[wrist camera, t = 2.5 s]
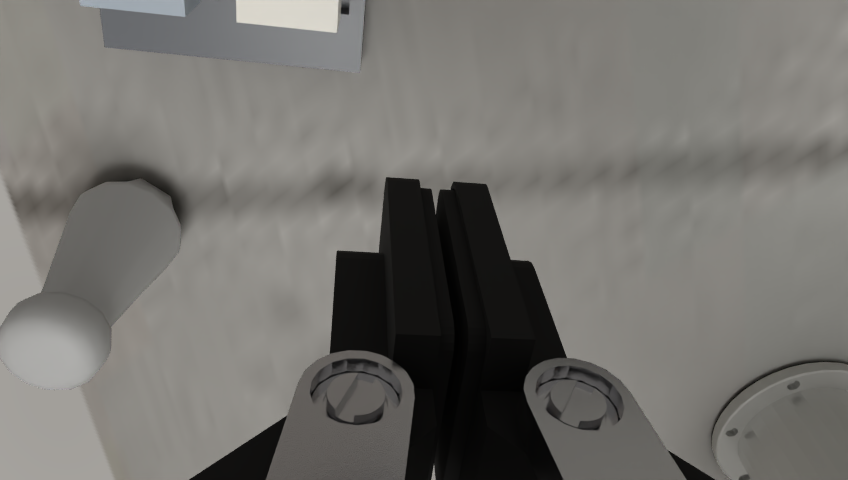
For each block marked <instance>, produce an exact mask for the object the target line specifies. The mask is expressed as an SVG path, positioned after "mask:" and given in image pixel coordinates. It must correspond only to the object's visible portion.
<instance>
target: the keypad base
mask: <svg viewBox="0 0 848 480" xmlns="http://www.w3.org/2000/svg"><path fill="white" fill-rule="evenodd" d="M365 2H366V0H341V18H340V22H339V26H338V31H337V33H332V32H323V31H314V30H304V29H295V28H285V27H276V26H266V25H257V24H247V23H238V22H237V21H236V0H200V3H199V4H198V5H197V6H196V7H195V8H194V9H193V10H192V11H191V12H190V13H189V14H188V15H187V16H186V17H181V16H172V15H162V14H153V13H143V12H134V11H124V10H115V9H106V8H100V14H101V22H102V31H103V39H104V47H107V48H117V49H127V50H137V51H147V52H157V53H167V54H177V55H187V56H197V57H207V58H217V59H227V60H237V61H247V62H257V63H267V64H277V65H287V66H297V67H307V68H317V69H327V70H337V71H347V72H357V73H360V69H361V59H362V45H363V31H364V17H365Z"/></svg>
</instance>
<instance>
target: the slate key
mask: <svg viewBox="0 0 848 480" xmlns="http://www.w3.org/2000/svg"><path fill="white" fill-rule="evenodd" d="M79 1H80V6H87V7H96V8H106V9H115V10H124V11H134V12H143V13H153V14H162V15H172V16H181V17H186V16H187V15H188V14H189V13H190V12H191V11H192V10H193V9H194V8H195V7H196V6H197V5H198V4H199V3H200V0H79Z"/></svg>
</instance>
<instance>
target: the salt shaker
mask: <svg viewBox="0 0 848 480" xmlns="http://www.w3.org/2000/svg"><path fill="white" fill-rule="evenodd" d="M181 229H182V227H181V225H180V222H179V220H178V218H177V216H176V214H175V211H174V209H173V205H172V200H171V196H170V195H168V194H166V193H165V192H163V191H161V190H160V189H158V188H157V187H155V186H153V185H152V184H150V183H148V182H147V181H145V180H144V179H142V178H140V179H136V180H131V181H126V182H105V183H102V184H100V185H98V186H96V187H94V188H92V189H89V190H87V191H85V192H84V193H82V194H81V195H80V197H79V198H78V200H77V201H76V203H75V205H74V206H73V208H72V209H71V211H70V213H69V216H68V219H67V222H66V225H65V227H64V230H63V233H62V236H61V239H60V241H59V244H58V247H57V250H56V253H55V256H54V258H53V261H52V264H51V267H50V270H49V273H48V275H47V278H46V281H45V284H44V287H43V289H42V291H41V293H39V294H36V295H34V296H32V297H29V298H27V299H25V300H23V301H21V302H19V303H18V304H17V305H16V306H15V307H14V308H13V309H12V310H11V311H10V312H9V314H8V315H7V317H6V319H5V320H4V322H3V323H2V325H1V327H0V359H1V361H2V362H3V364H4V365H5V366H6V368H7V369H8V371H9V372H11V374H13V375H14V376H16V377H18V378H19V379H20V380H22V381H23V382H25V383H26V384H29V385H32V386H36V387H39V388H42V389H47V390H50V389H73V388H76V387H78V386H80V385H83V384H85V383H87V382H89V381H90V380H91V379H92V377H93V376H94V375H95V374H96V373H97V372H98V370H99V369H100V368H101V367H102V365H103V364H104V363H105V361H106V360H107V358H108V356H109V354H110V351H111V326H112V325H113V324H114V323H115V322H116V321H117V320H118V319H119V318H120V317H121V315H122V314H123V313H124V312H125V311H126V310H127V309H128V308H129V307H130V305H131V304H132V303H133V302H134V301H135V300H136V299H137V298H138V297H139V296H140V295H141V294H142V292H143V291H144V290H145V289H146V288H147V287H148V286H149V285H150V284H151V283H152V282H153V281H154V280H155V279H156V278H157V277H158V276H159V275H160V274H161V273H162V272H163V271H164V270H165V269H166V268H167V267H168V265H169V264H170V263H171V262H172V260H173V259H174V258H175V256H176V255H177V254H178V253H179V249H180V241H181Z"/></svg>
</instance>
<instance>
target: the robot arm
mask: <svg viewBox="0 0 848 480" xmlns="http://www.w3.org/2000/svg"><path fill="white" fill-rule="evenodd" d="M712 450H713V453H714V456H715V459H716V461H717V462H718V464H719V466H720V468H721V470H722V471H723V472H724V473H725V475H726V476H727V477H728V478H729V479H731V480H848V365H847V364H843V363H834V362H818V363H807V364H802V365H798V366H793V367H789V368H786V369H783V370H781V371H778V372H775V373H772V374H770V375H769V376H767V377H765V378H763V379H761V380H759V381H757V382H755V383H754V384H752V385H751V386H749V387H748V388H746V389H745V390H744V391H742V392H741V393H740V394H739V395H738V396H737V397H736V398H735V399H733V400H732V401H731V402H730V404H729V405H728V406H727V407H726V409H725V410H724V411H723V412H722V414H721V415H720V417H719V419H718V421H717V423H716V425H715V428H714V431H713V435H712ZM433 466H435V476H436V480H715V479H713V478H712V477H710V476H708V475H707V474H705V473H703V472H702V471H700V470H699V469H697V468H695V467H694V466H692V465H691V464H689V463H687V462H686V461H684V460H682V459H681V458H679V457H678V456H676V455H674V454H673V453H671V452H670V451H668V450H667V449H666V447H665V446H664V444H663V442H662V441H661V439H660V438H659V436H658V435H657V433H656V432H655V430H654V428H653V427H652V425H651V424H650V422H649V421H648V419H647V418H646V416H645V414H644V413H643V411H642V410H641V408H640V407H639V405H638V404H637V402H636V400H635V399H634V397H633V396H632V394H631V393H630V391H629V390H628V389H627V388H626V387H625V385H624V384H623V383H622V382H621V381H620V380H619V379H618V378H616V377H615V376H614V375H612V374H611V373H610V372H608V371H607V370H605V369H603V368H601V367H599V366H597V365H594V364H592V363H590V362H586V361H582V360H578V359H571V358H567V357H566V354H565V351H564V349H563V346H562V343H561V340H560V338H559V335H558V332H557V329H556V327H555V324H554V321H553V318H552V315H551V313H550V310H549V307H548V304H547V302H546V299H545V296H544V293H543V291H542V288H541V285H540V282H539V280H538V277H537V274H536V271H535V269H534V267H533V265H532V263H531V262H529V261H519V260H510V256H509V253H508V250H507V247H506V244H505V241H504V238H503V234H502V231H501V228H500V225H499V222H498V219H497V215H496V212H495V209H494V206H493V203H492V200H491V196H490V193H489V190H488V187H487V185H486V184H477V183H462V182H453V184H452V186H451V190H440V192H439V196H438V203H437V210H436V214H435V208H434V202H433V196H432V190H431V189H426V188H420V182H419V180H418V179H403V178H389V177H386V182H385V190H384V201H383V212H382V223H381V234H380V244H379V253H371V252H353V251H337V256H336V271H335V286H334V301H333V316H332V331H331V346H330V354H329V355H327V356H325V357H322V358H320V359H318V360H316V361H315V362H314V363H313V364H311V365H310V366H309V367H308V368H307V369H306V370H305V371H304V373H303V375H302V376H301V378H300V380H299V382H298V385H297V388H296V391H295V394H294V397H293V400H292V403H291V406H290V409H289V412H288V415H287V416H286V417H284V418H283V419H281V420H280V421H278V422H277V423H275V424H274V425H272V426H270V427H269V428H267V429H266V430H264V431H263V432H261V433H260V434H258V435H257V436H255V437H254V438H252V439H251V440H249V441H248V442H246V443H245V444H243V445H241V446H240V447H238V448H237V449H235V450H234V451H232V452H231V453H229V454H228V455H226V456H225V457H223V458H222V459H220V460H219V461H217V462H216V463H214V464H212V465H211V466H209V467H208V468H206V469H205V470H203V471H202V472H200V473H199V474H197V475H196V476H194V477H193V478H191V479H190V480H431V477H432V471H433Z"/></svg>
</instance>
